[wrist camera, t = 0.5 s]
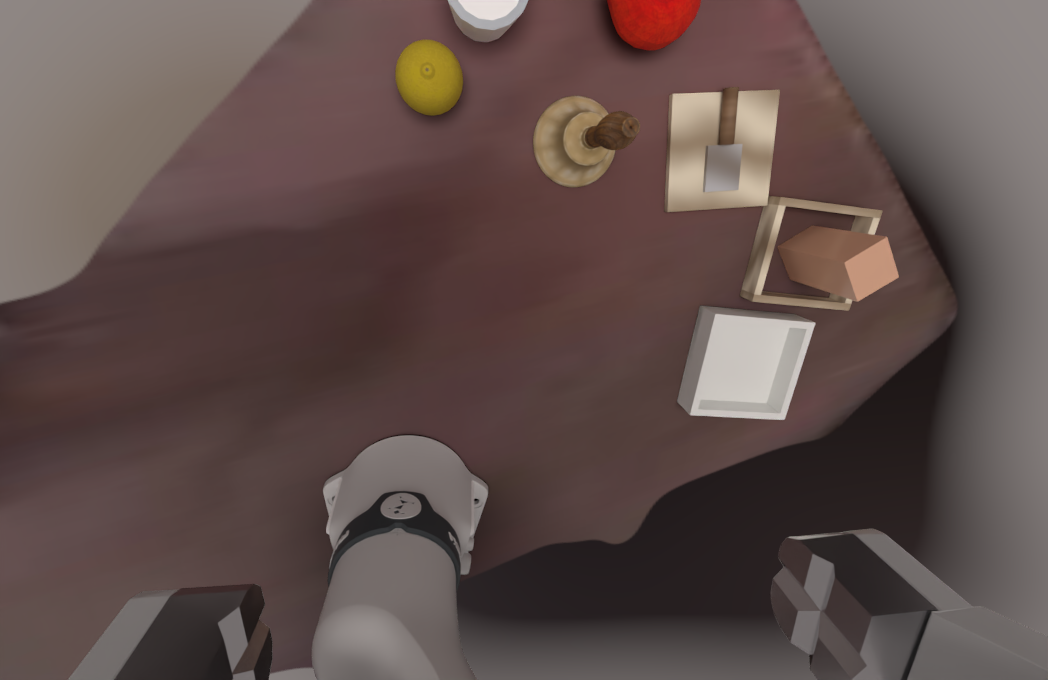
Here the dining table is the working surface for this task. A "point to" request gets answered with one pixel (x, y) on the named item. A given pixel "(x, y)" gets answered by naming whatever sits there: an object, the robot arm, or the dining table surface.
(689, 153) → the lid with scoop
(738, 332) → the white square tray
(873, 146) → the dining table surface
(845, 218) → the dining table surface
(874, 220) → the birch bin
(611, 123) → the hand bell
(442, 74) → the lemon
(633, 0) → the apple
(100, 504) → the dining table surface
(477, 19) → the white round tub
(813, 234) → the terracotta brick
